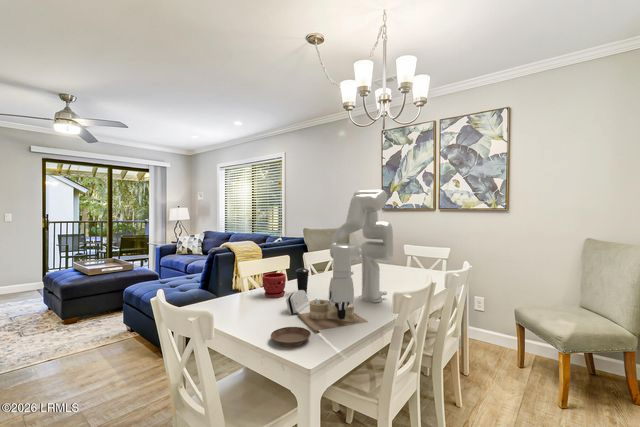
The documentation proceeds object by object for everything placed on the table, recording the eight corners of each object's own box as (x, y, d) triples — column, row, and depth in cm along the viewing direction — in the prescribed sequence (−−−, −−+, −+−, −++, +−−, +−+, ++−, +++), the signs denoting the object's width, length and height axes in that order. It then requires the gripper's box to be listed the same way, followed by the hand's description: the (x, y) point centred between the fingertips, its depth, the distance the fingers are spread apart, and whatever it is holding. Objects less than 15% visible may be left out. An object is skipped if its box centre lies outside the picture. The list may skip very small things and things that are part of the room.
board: (345, 309, 151) (345, 307, 151) (368, 324, 131) (368, 321, 131) (297, 316, 141) (297, 314, 141) (315, 333, 122) (315, 330, 122)
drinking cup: (299, 296, 173) (299, 260, 173) (293, 293, 180) (293, 258, 180) (311, 294, 177) (311, 259, 177) (305, 291, 184) (305, 258, 183)
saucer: (263, 339, 116) (263, 332, 116) (296, 330, 125) (296, 323, 125) (284, 353, 105) (284, 345, 105) (318, 342, 114) (318, 335, 114)
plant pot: (273, 291, 184) (273, 271, 184) (290, 295, 176) (290, 274, 176) (257, 296, 173) (257, 275, 173) (274, 300, 166) (274, 278, 166)
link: (306, 317, 137) (306, 303, 137) (315, 311, 145) (315, 298, 145) (349, 324, 128) (349, 310, 128) (356, 317, 136) (356, 304, 136)
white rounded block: (298, 315, 142) (292, 294, 143) (290, 317, 143) (283, 296, 145) (312, 305, 158) (306, 286, 159) (304, 307, 159) (298, 288, 160)
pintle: (319, 316, 141) (319, 298, 141) (321, 317, 139) (321, 299, 139) (314, 316, 140) (314, 299, 140) (316, 318, 138) (316, 300, 138)
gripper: (353, 272, 137) (352, 314, 136) (322, 274, 131) (321, 317, 131) (361, 275, 130) (361, 319, 129) (329, 277, 124) (328, 323, 124)
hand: (341, 318), depth 130 cm, fingers closed
